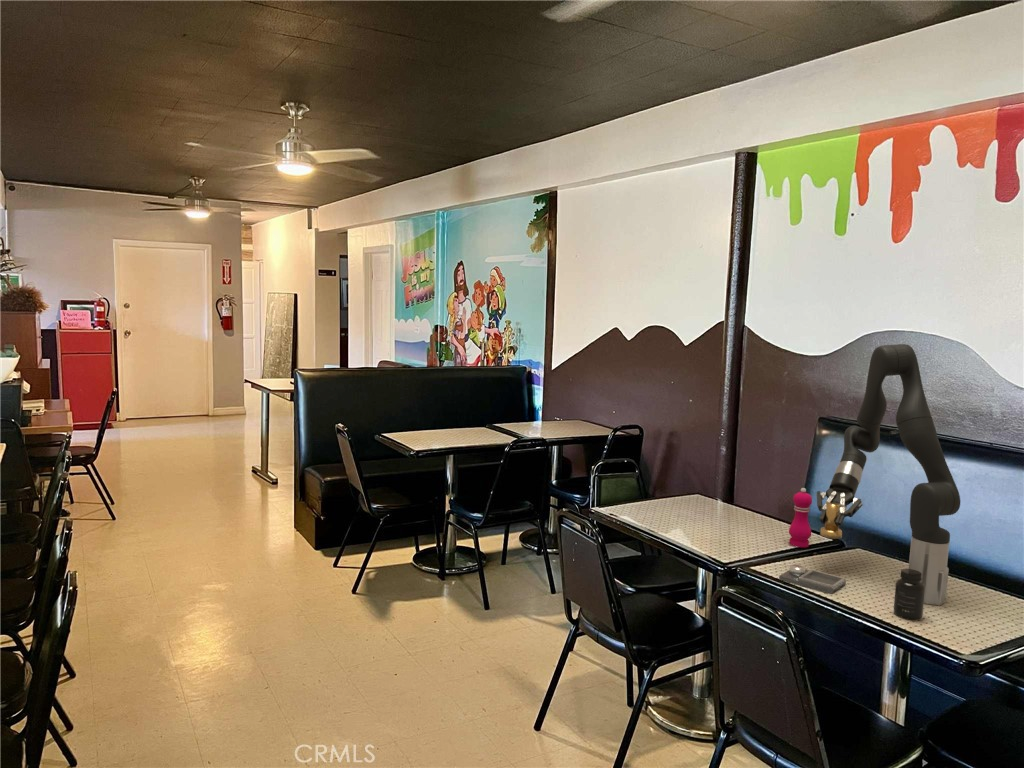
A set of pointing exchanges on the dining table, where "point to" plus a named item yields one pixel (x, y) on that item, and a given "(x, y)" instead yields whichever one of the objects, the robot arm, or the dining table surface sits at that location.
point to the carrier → (813, 579)
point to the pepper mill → (801, 520)
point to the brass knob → (831, 522)
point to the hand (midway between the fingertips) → (829, 523)
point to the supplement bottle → (909, 595)
